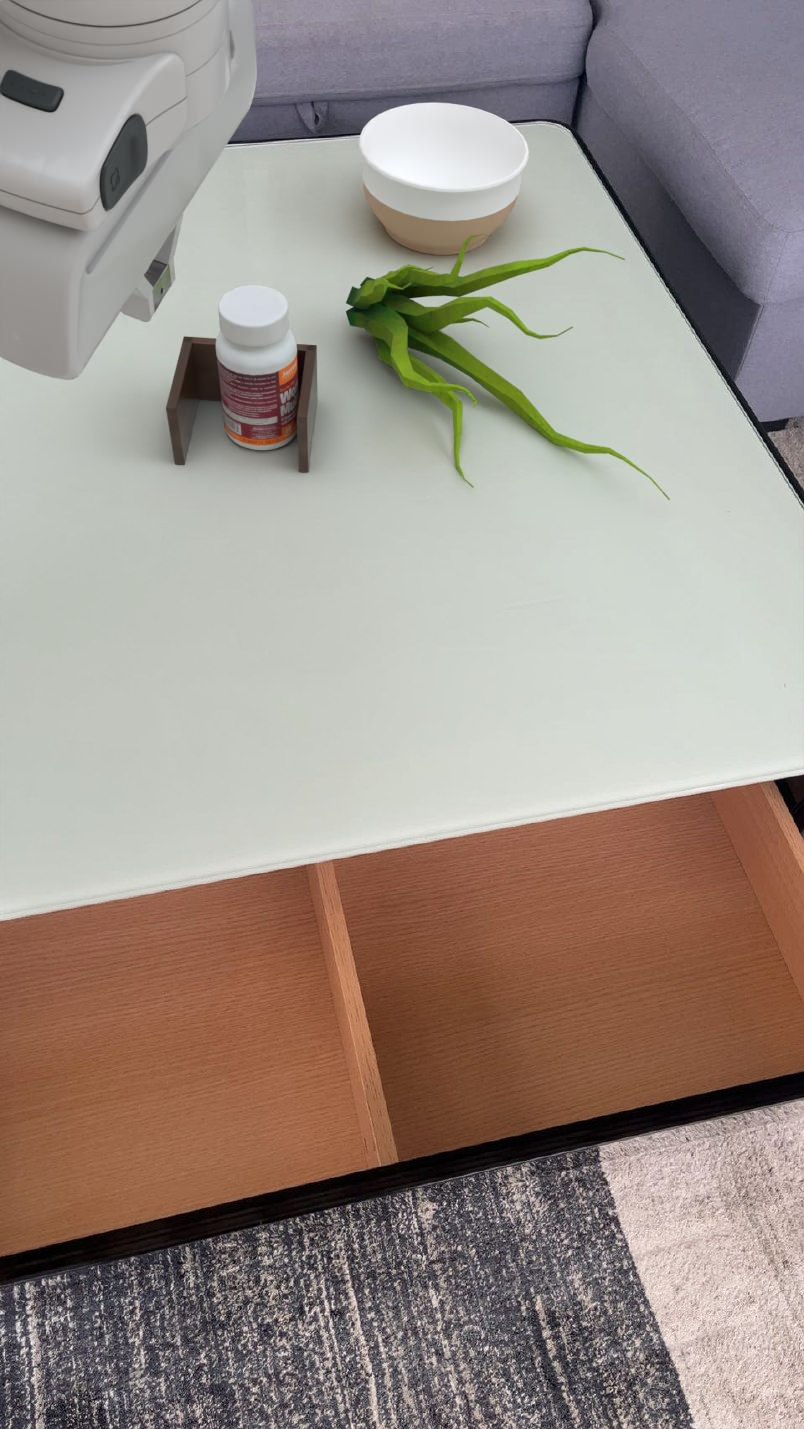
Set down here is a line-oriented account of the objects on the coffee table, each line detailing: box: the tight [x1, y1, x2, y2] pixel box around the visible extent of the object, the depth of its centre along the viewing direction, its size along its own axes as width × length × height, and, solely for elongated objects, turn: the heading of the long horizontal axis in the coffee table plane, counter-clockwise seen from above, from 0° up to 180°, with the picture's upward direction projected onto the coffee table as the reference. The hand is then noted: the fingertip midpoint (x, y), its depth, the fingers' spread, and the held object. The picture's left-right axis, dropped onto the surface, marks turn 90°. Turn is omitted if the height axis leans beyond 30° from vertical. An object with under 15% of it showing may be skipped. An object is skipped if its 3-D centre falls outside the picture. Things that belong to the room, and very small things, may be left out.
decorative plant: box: [345, 234, 671, 501], centre depth 83 cm, size 18×30×15 cm, turn 18°
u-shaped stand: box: [165, 335, 318, 473], centre depth 84 cm, size 11×9×6 cm
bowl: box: [358, 102, 530, 256], centre depth 102 cm, size 16×16×8 cm
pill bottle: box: [216, 284, 299, 451], centre depth 82 cm, size 6×6×11 cm
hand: (147, 298), depth 52 cm, fingers closed
